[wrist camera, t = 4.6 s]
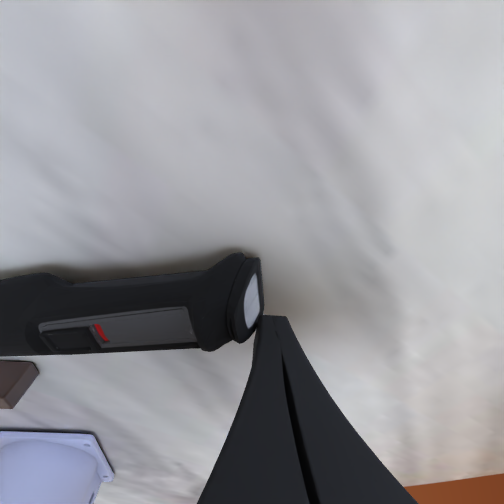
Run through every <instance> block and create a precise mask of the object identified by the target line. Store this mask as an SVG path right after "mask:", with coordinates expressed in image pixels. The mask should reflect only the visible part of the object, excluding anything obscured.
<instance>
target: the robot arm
mask: <svg viewBox="0 0 504 504" xmlns="http://www.w3.org/2000/svg"><path fill="white" fill-rule="evenodd" d="M113 479H114V474H113V472H112V470H111V468H110V466H109V464H108V462H107V460H106V458H105V456H104V455H103V453H102V451H101V449H100V447H99V445H98V443H97V441H96V439H95V437H94V436H93V435H90V434H73V433H44V432H15V431H0V504H93V503H94V501H95V498H96V496H97V493H98V490H99V488H100V485H101V482H111V481H113ZM197 504H418V503H417V502H416V500H415V499H414V498H413V497H412V496H411V495H410V494H409V493H408V492H407V491H406V490H405V489H404V487H403V486H402V485H401V484H400V483H399V482H398V481H397V480H396V478H395V477H394V476H393V475H392V474H391V473H390V472H389V470H388V469H387V468H386V467H385V466H384V465H383V464H382V462H381V461H380V460H379V459H378V457H377V456H376V455H375V454H374V453H373V451H372V450H371V449H370V448H369V446H368V445H367V444H366V443H365V442H364V440H363V439H362V438H361V437H360V436H359V434H358V433H357V432H356V430H355V429H354V428H353V426H352V425H351V424H350V423H349V421H348V420H347V419H346V417H345V416H344V414H343V413H342V412H341V410H340V409H339V407H338V406H337V405H336V403H335V402H334V400H333V399H332V397H331V396H330V394H329V393H328V391H327V390H326V388H325V387H324V385H323V384H322V382H321V381H320V379H319V377H318V376H317V374H316V372H315V371H314V369H313V367H312V366H311V364H310V362H309V360H308V359H307V357H306V355H305V353H304V351H303V350H302V348H301V346H300V344H299V342H298V340H297V338H296V336H295V334H294V332H293V330H292V328H291V325H290V323H289V321H288V319H287V317H286V316H273V315H261V316H259V319H258V324H257V329H256V334H255V339H254V348H253V360H252V368H251V371H250V375H249V378H248V381H247V384H246V388H245V391H244V393H243V396H242V399H241V402H240V405H239V408H238V410H237V413H236V415H235V418H234V421H233V423H232V426H231V428H230V431H229V433H228V436H227V438H226V440H225V443H224V445H223V447H222V450H221V452H220V454H219V457H218V459H217V461H216V463H215V466H214V468H213V470H212V473H211V475H210V477H209V479H208V481H207V483H206V486H205V488H204V490H203V492H202V494H201V496H200V498H199V500H198V502H197Z"/></svg>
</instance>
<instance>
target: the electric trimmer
mask: <svg viewBox="0 0 504 504" xmlns="http://www.w3.org/2000/svg"><path fill="white" fill-rule="evenodd" d="M260 261H261V260H260V259H259V257H258V258H247V259H246V258H245V256H244V254H243V253H242V252H240V253H234V254H231V255H229V256H228V257H226V258H225V259H223V260H222V261H220V262H219V263H217V264H216V265H215V266H213V267H212V268H211V269H209V270H207V271H198V272H187V273H177V274H167V275H157V276H146V277H136V278H126V279H116V280H106V281H95V282H85V283H75V284H72V283H70V282H68V281H65V280H63V279H61V278H58V277H56V276H54V275H52V274H49V273H37V274H31V275H24V276H18V277H13V278H8V279H4V280H0V356H32V355H72V354H92V353H111V352H131V351H151V350H170V349H190V348H201V349H202V350H204V351H208V352H211V351H215V350H217V349H218V348H220V347H221V346H223V345H224V344H226V343H228V342H230V341H232V340H234V341H236V342H237V343H239V344H240V343H244V342H245V341H246V340H247V339H249V338H250V336H251V335H252V334H253V333H254V331H255V330H256V328H257V324H258V319H259V316H261V315H263V311H264V297H263V295H264V294H263V285H262V274H261V263H260Z"/></svg>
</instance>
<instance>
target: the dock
mask: <svg viewBox="0 0 504 504" xmlns="http://www.w3.org/2000/svg"><path fill="white" fill-rule="evenodd" d="M38 375H39V372H38V371H37V369H36V367H35V366H34V364H33V363H32V362H16V361H0V409H13V408H14V407H15V405H16V404H17V403H18V401H19V400H20V399H21V397H22V396H23V395H24V393H25V392H26V391H27V390H28V388H29V387H30V386H31V384H32V383H33V382H34V380H35V379H36V378H37V376H38Z"/></svg>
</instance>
